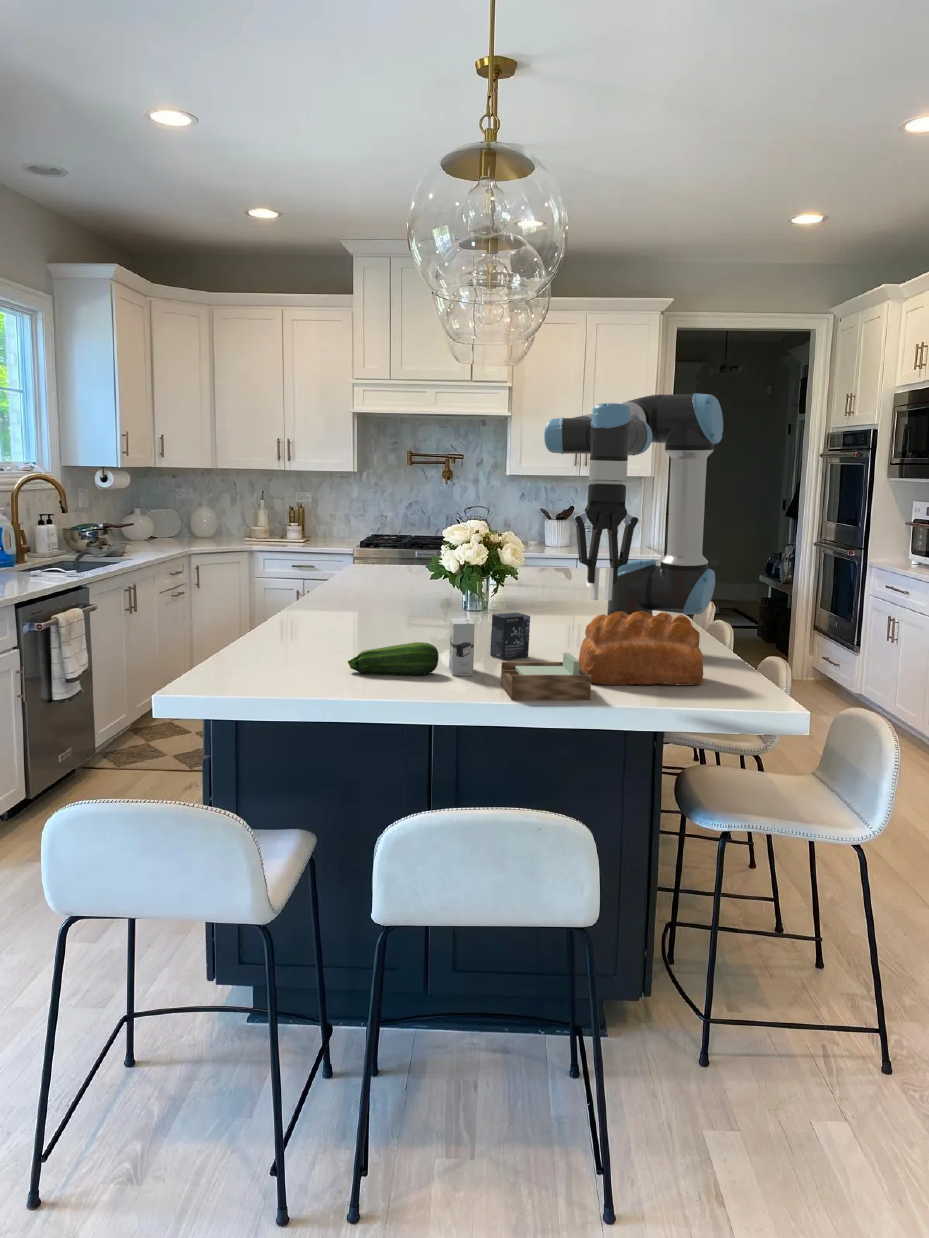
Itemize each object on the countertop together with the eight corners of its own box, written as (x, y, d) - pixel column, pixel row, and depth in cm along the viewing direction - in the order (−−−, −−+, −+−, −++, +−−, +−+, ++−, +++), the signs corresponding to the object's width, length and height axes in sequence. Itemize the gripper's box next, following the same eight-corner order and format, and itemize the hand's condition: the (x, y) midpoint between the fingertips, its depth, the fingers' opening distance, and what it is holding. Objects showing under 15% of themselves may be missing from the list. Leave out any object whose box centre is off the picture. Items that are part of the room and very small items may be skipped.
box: (503, 660, 216) (504, 617, 214) (489, 656, 221) (491, 613, 219) (529, 657, 220) (531, 615, 219) (515, 653, 225) (517, 611, 223)
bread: (707, 688, 194) (712, 617, 192) (586, 686, 192) (590, 615, 189) (686, 673, 208) (690, 607, 205) (573, 672, 206) (576, 605, 203)
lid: (571, 669, 191) (571, 652, 190) (583, 680, 180) (584, 662, 180) (515, 669, 189) (515, 651, 188) (524, 680, 179) (525, 662, 178)
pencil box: (574, 684, 193) (575, 661, 192) (590, 699, 180) (591, 675, 179) (500, 684, 191) (501, 661, 190) (511, 700, 178) (512, 675, 177)
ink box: (448, 667, 206) (450, 617, 204) (470, 668, 206) (471, 617, 205) (451, 676, 198) (452, 623, 196) (473, 676, 198) (475, 623, 196)
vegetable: (438, 638, 196) (346, 637, 195) (438, 670, 194) (345, 669, 193) (438, 647, 203) (349, 646, 202) (438, 678, 201) (348, 678, 200)
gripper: (638, 483, 184) (631, 597, 188) (565, 481, 183) (560, 596, 186) (650, 484, 177) (643, 602, 181) (574, 482, 175) (569, 601, 179)
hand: (601, 599), depth 184 cm, fingers open, 2 cm apart
